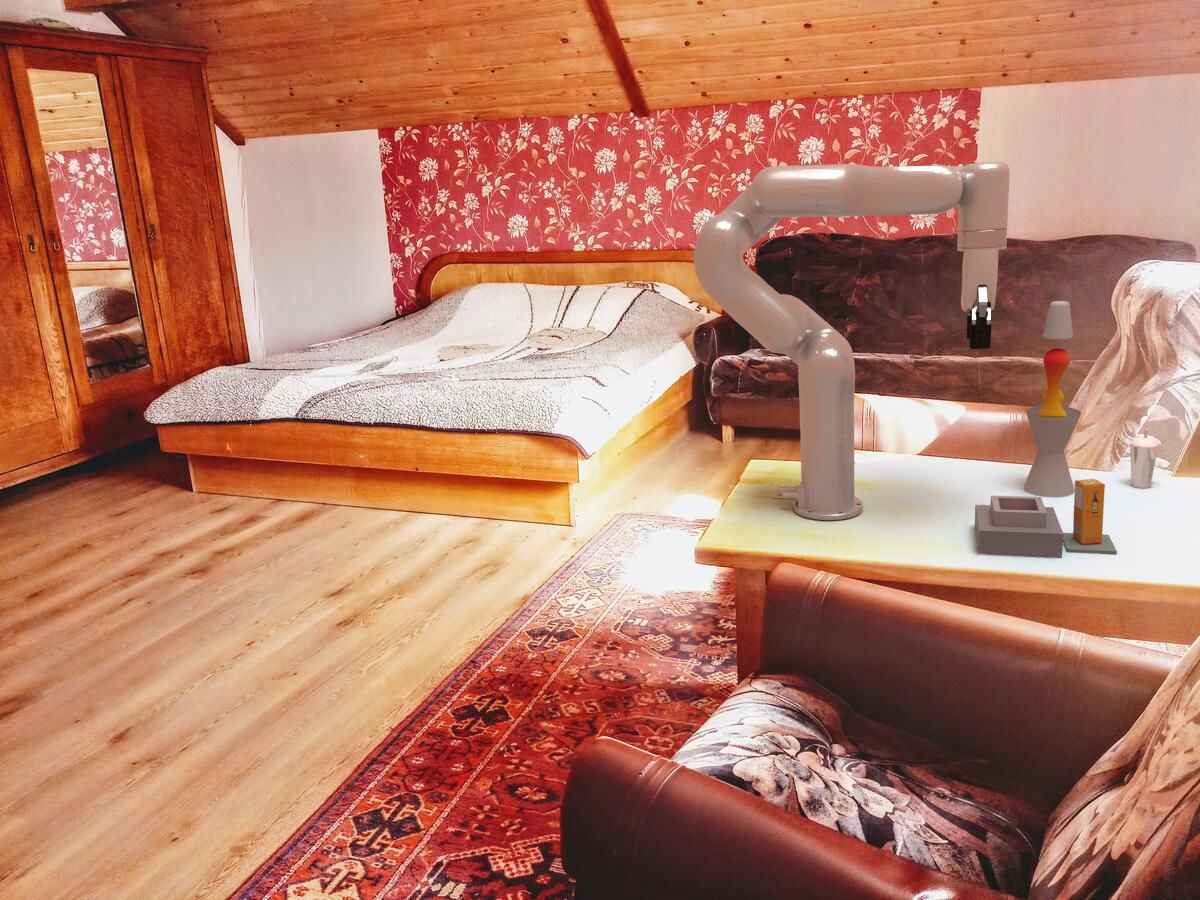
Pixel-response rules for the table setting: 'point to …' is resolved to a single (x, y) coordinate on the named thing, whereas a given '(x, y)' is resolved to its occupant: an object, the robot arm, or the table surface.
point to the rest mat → (1089, 545)
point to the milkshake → (1143, 460)
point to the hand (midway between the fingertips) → (978, 343)
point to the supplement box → (1088, 511)
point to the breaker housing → (1018, 528)
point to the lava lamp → (1053, 415)
